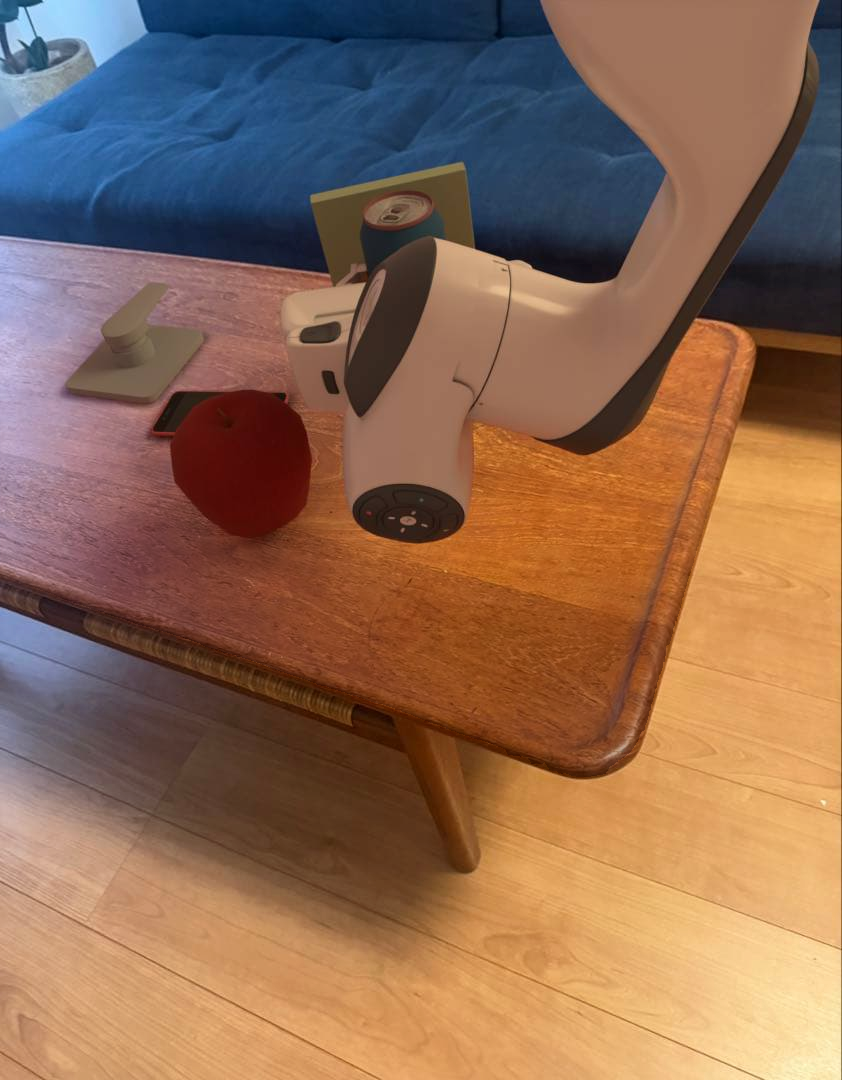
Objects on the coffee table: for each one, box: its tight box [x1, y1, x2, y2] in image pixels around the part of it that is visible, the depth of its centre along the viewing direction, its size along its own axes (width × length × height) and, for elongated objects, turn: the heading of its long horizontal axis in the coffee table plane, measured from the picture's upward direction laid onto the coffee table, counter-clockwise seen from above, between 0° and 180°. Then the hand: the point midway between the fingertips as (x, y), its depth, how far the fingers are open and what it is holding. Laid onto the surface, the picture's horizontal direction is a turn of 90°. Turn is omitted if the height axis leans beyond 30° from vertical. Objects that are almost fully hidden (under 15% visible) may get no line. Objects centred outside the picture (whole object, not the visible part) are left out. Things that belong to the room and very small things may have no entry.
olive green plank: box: [309, 161, 476, 287], centre depth 80 cm, size 14×2×20 cm, turn 98°
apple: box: [169, 389, 313, 538], centre depth 71 cm, size 12×12×13 cm
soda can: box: [360, 190, 446, 276], centre depth 69 cm, size 7×7×12 cm
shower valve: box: [64, 282, 205, 405], centre depth 95 cm, size 12×6×15 cm
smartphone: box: [151, 390, 290, 437], centre depth 87 cm, size 7×1×14 cm
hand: (408, 263), depth 70 cm, fingers closed on soda can, 7 cm apart
